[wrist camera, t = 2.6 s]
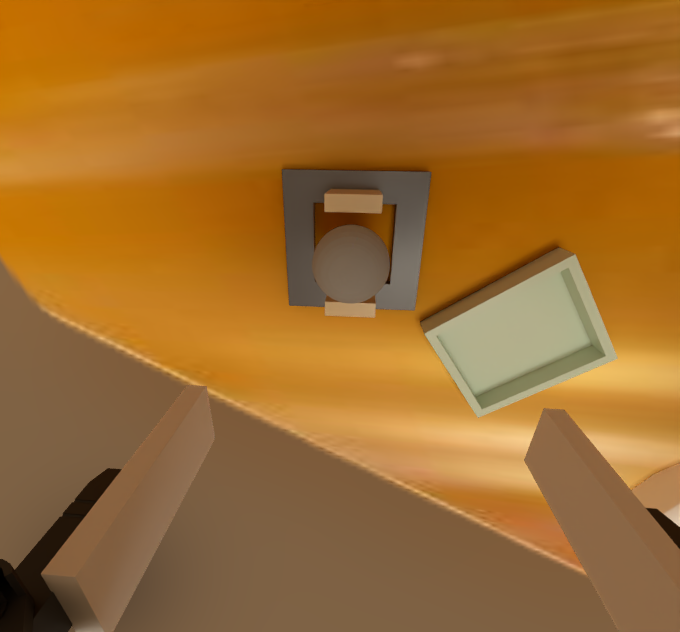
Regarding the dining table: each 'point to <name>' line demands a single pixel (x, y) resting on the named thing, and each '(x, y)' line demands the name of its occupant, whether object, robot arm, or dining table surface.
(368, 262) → the light bulb
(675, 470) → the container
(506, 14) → the dining table surface
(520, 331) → the parts tray
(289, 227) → the frame
